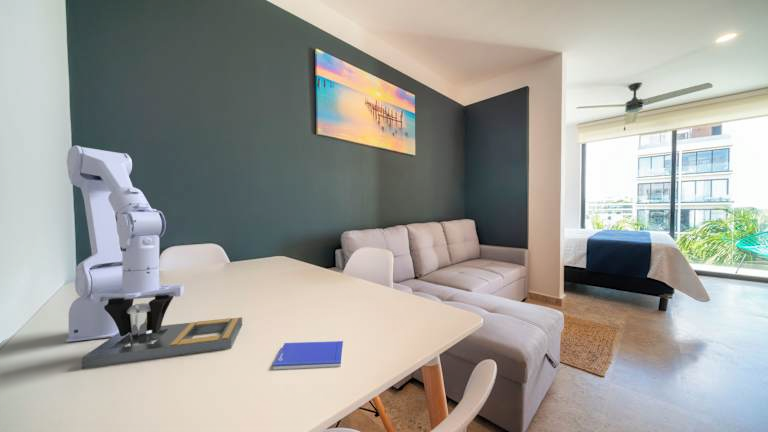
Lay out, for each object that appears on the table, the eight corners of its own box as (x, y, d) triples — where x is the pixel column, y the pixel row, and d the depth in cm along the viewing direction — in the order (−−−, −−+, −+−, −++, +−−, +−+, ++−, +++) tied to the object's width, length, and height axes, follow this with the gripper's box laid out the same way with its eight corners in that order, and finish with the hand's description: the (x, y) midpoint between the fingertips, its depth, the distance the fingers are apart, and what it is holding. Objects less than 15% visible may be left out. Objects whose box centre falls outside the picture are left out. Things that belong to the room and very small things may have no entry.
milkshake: (121, 356, 52) (121, 306, 52) (131, 344, 56) (132, 298, 56) (150, 351, 54) (151, 302, 54) (158, 339, 58) (159, 295, 58)
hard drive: (272, 364, 48) (340, 361, 49) (284, 341, 56) (343, 339, 57) (272, 372, 48) (340, 369, 49) (284, 349, 56) (342, 346, 57)
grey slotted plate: (81, 368, 47) (81, 356, 47) (122, 338, 59) (122, 328, 59) (231, 348, 55) (231, 338, 55) (242, 325, 67) (242, 316, 67)
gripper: (81, 274, 49) (81, 346, 49) (174, 270, 53) (174, 336, 54) (107, 267, 55) (106, 330, 56) (188, 263, 60) (187, 322, 60)
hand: (141, 332), depth 55 cm, fingers open, 5 cm apart
